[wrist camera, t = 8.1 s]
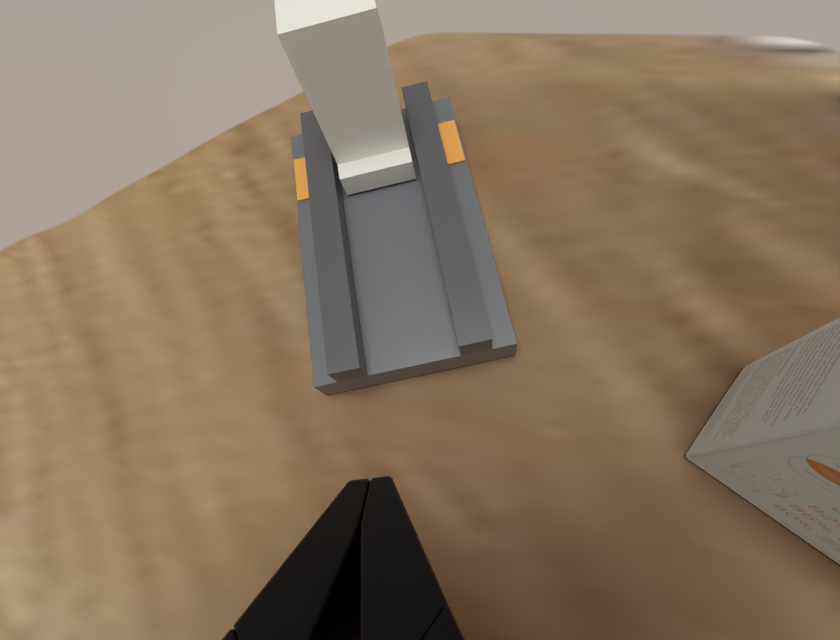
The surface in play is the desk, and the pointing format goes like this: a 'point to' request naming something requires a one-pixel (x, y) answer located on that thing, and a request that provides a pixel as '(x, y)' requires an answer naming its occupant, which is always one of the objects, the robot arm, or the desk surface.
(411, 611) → the robot arm
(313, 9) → the switch tab
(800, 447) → the small box
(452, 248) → the switch base
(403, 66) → the desk surface
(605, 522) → the desk surface
